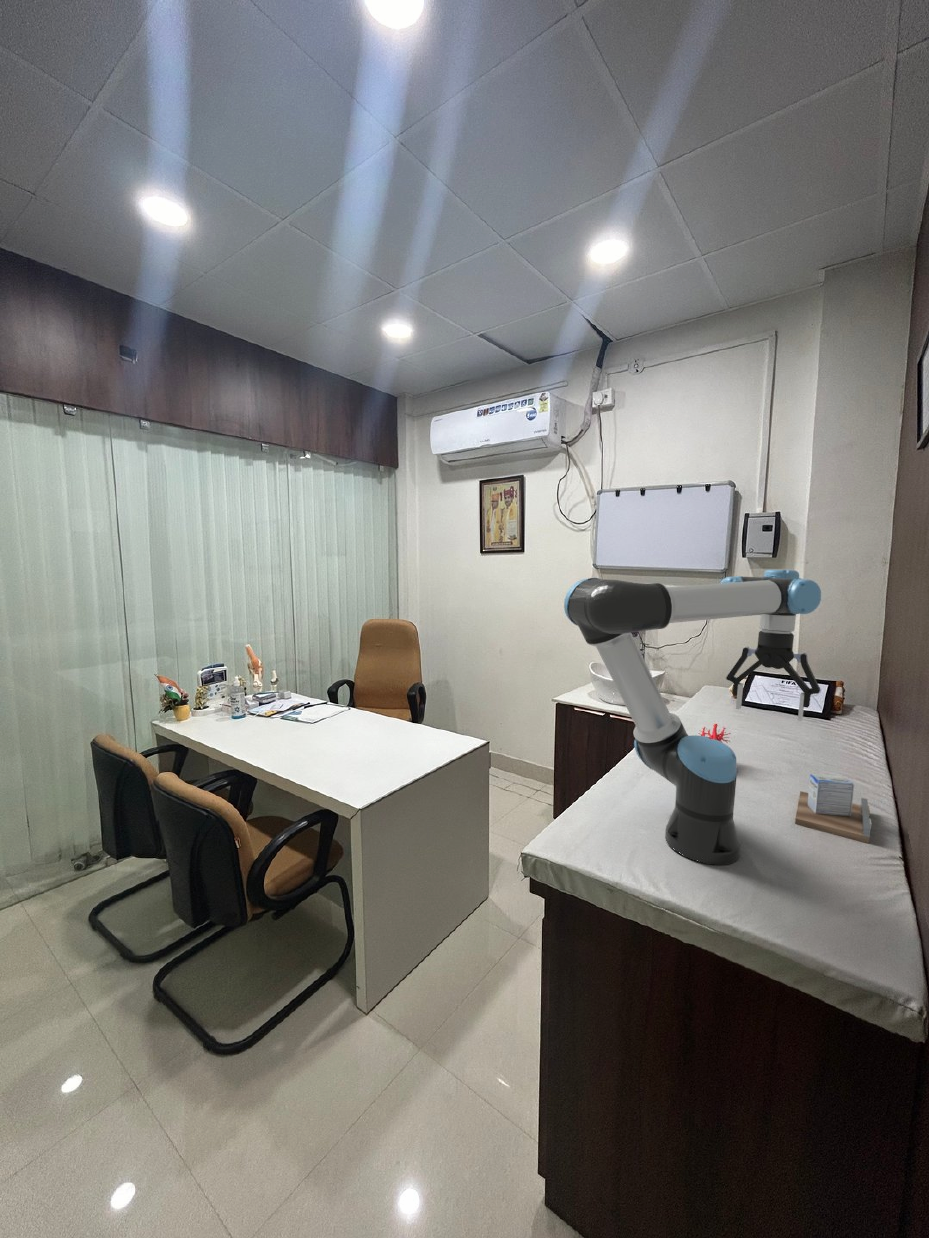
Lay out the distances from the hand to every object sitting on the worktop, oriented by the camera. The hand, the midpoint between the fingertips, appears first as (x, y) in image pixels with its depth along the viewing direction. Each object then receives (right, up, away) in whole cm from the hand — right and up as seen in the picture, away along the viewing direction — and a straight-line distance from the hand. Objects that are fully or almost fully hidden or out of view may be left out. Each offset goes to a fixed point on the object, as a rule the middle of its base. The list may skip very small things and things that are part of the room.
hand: (768, 713), depth 127 cm
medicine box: (+13, -24, -3) cm, 28 cm away
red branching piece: (-1, -22, +29) cm, 36 cm away
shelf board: (+14, -25, -3) cm, 29 cm away
